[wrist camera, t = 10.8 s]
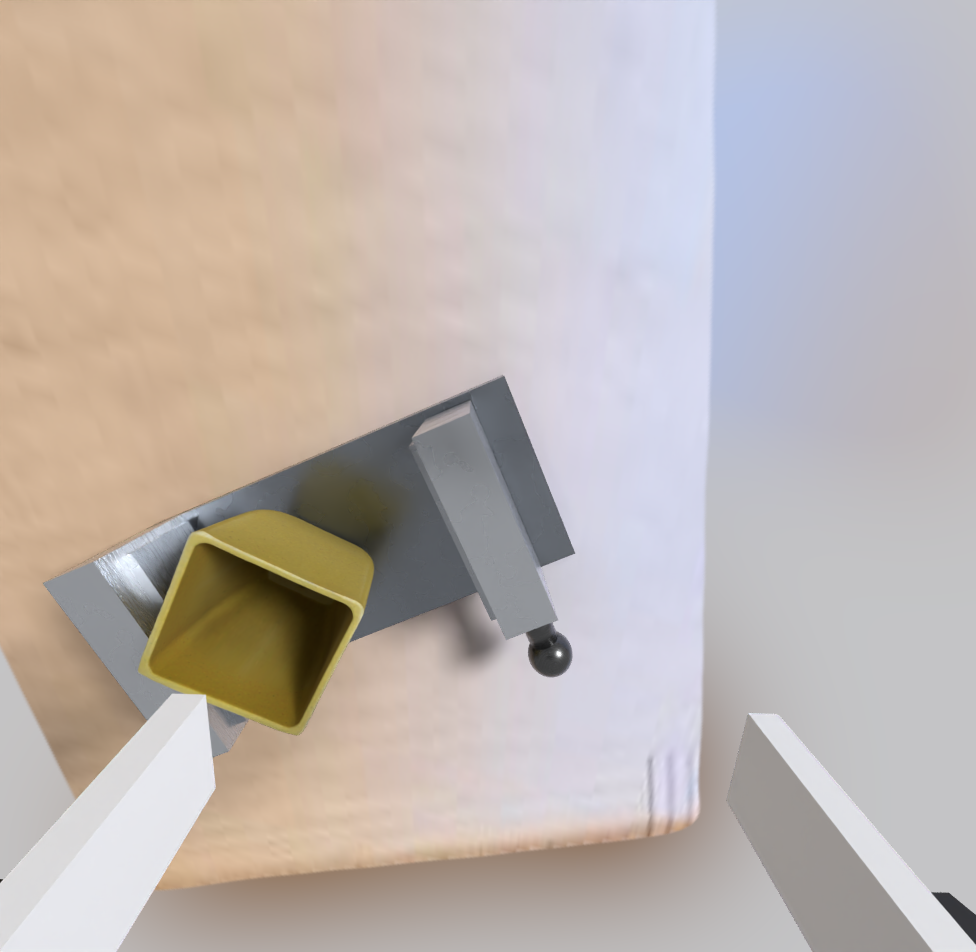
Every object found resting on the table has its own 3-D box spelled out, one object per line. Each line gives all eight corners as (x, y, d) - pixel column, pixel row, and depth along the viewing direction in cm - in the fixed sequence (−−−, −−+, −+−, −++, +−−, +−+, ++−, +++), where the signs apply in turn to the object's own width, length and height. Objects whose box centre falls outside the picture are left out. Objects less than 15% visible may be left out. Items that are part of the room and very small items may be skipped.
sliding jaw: (417, 422, 28) (399, 443, 21) (470, 399, 28) (469, 413, 21) (521, 647, 33) (534, 724, 26) (568, 630, 32) (593, 702, 25)
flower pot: (227, 586, 31) (130, 676, 22) (274, 477, 29) (188, 529, 20) (346, 637, 32) (298, 740, 23) (398, 535, 30) (367, 607, 22)
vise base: (156, 523, 31) (42, 583, 23) (502, 375, 29) (514, 381, 21) (252, 670, 34) (183, 768, 26) (570, 544, 33) (603, 607, 24)
